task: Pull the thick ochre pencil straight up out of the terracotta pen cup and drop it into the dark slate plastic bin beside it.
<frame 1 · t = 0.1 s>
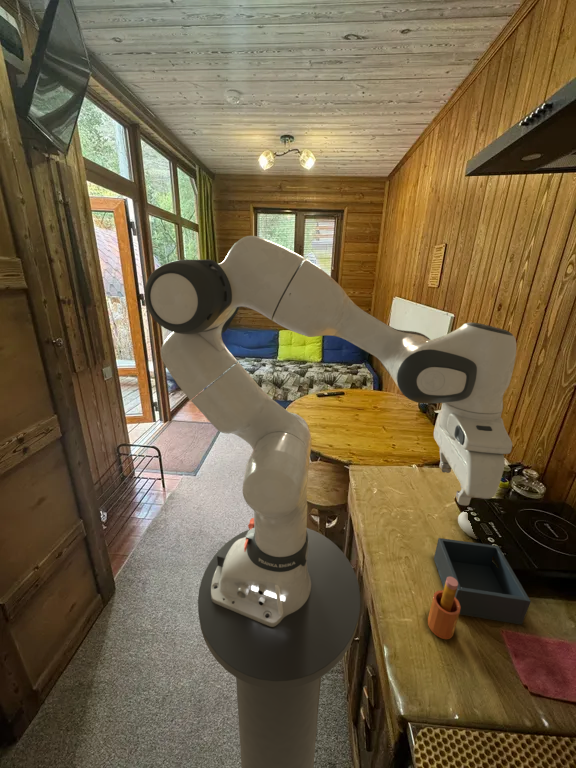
hand: (452, 485, 58), 30 cm above the kitchen counter, tool pointing down, fingers open, 8 cm apart
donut: (476, 530, 87), on the kitchen counter
pencil: (440, 624, 63), point 1 cm above the kitchen counter, touching pen cup
bin: (473, 588, 71), on the kitchen counter
pen cup: (440, 626, 63), on the kitchen counter
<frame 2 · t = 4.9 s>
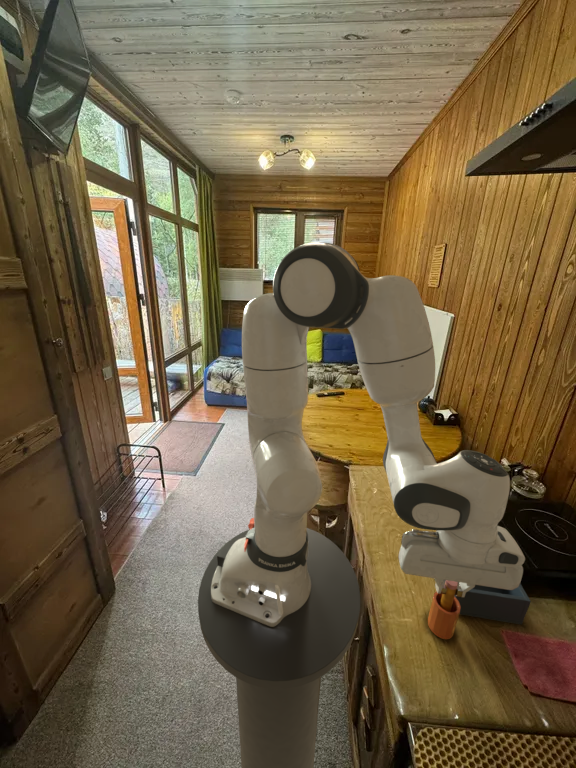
hand: (449, 592, 60), 10 cm above the kitchen counter, tool pointing down, fingers closed on pencil, 2 cm apart
pencil: (440, 624, 63), point 1 cm above the kitchen counter, touching gripper, pen cup
everything else where it was.
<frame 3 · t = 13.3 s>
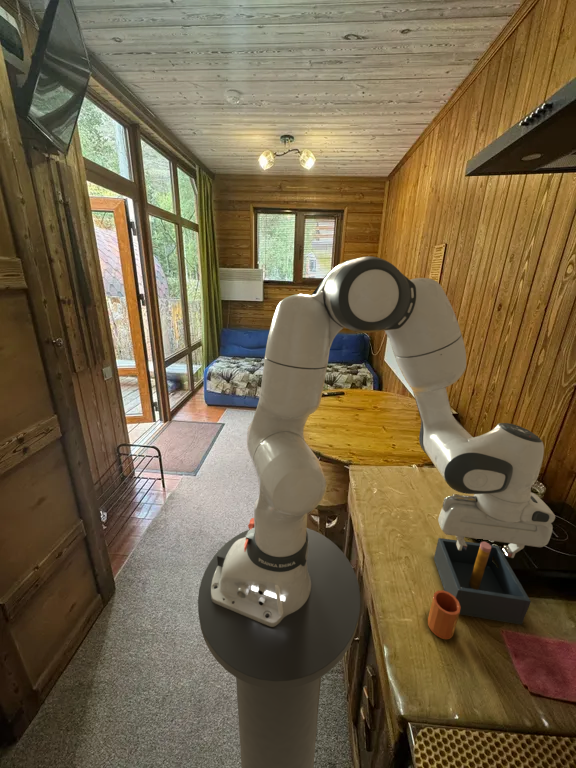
hand: (483, 551, 67), 11 cm above the kitchen counter, tool pointing down, fingers open, 8 cm apart
pencil: (474, 585, 70), point 1 cm above the kitchen counter, touching bin
everything else where it was.
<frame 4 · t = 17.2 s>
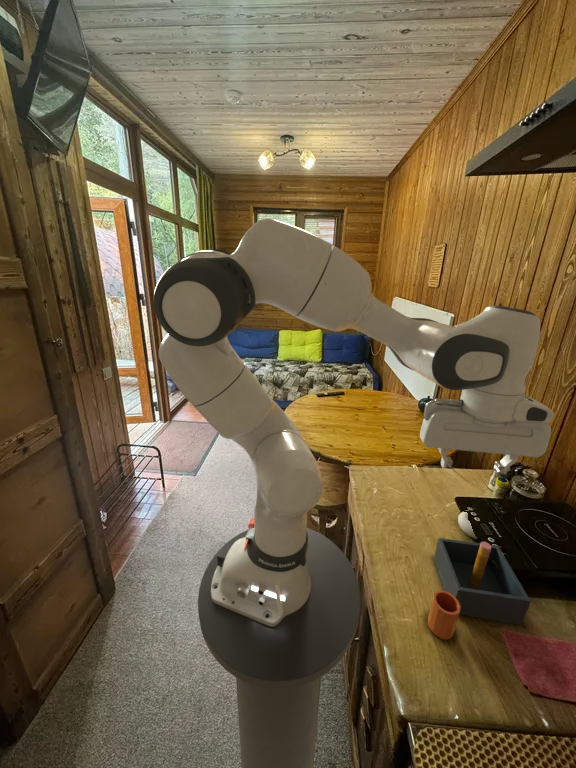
hand: (472, 469, 58), 33 cm above the kitchen counter, tool pointing down, fingers open, 8 cm apart
nothing on the kitchen counter moved.
at the end: pencil inside the target area in the bin (0.1 cm from its centre), point 0.8 cm above the bin's base; pencil touching bin; the gripper is holding nothing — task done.
